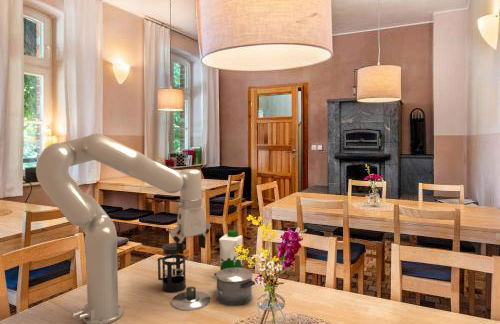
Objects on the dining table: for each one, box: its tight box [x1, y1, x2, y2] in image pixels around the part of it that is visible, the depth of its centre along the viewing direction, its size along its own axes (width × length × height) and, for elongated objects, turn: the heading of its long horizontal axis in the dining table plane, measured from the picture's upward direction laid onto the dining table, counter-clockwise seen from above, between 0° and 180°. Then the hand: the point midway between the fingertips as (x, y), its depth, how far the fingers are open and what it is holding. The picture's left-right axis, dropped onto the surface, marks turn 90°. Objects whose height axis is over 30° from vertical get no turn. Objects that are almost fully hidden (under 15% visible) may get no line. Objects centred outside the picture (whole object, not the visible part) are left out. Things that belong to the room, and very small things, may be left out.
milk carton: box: [218, 229, 243, 271], centre depth 150 cm, size 9×9×20 cm
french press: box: [157, 229, 187, 294], centre depth 141 cm, size 12×9×23 cm
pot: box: [213, 267, 256, 307], centre depth 132 cm, size 14×17×9 cm
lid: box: [170, 286, 212, 311], centre depth 130 cm, size 14×14×5 cm
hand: (191, 250), depth 130 cm, fingers open, 9 cm apart
